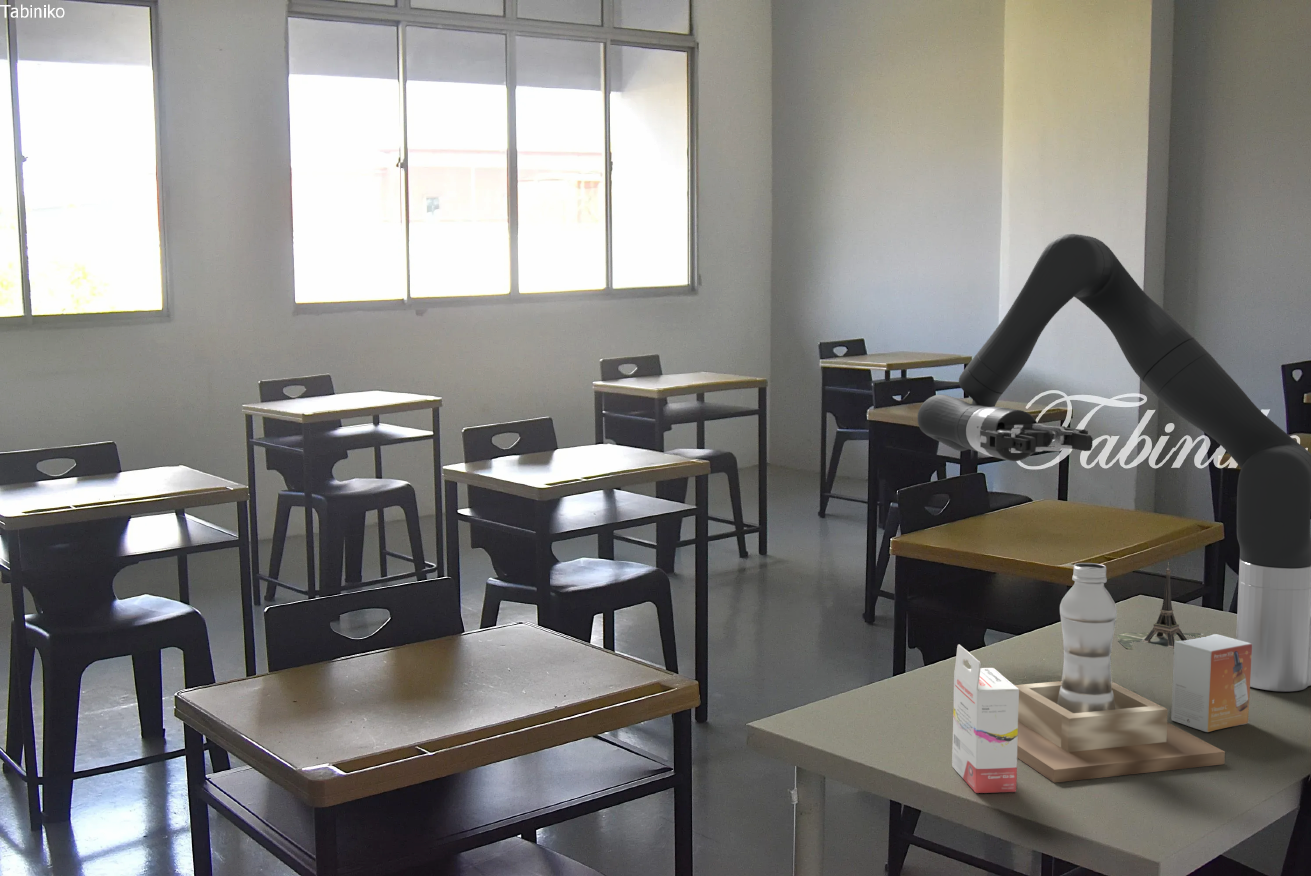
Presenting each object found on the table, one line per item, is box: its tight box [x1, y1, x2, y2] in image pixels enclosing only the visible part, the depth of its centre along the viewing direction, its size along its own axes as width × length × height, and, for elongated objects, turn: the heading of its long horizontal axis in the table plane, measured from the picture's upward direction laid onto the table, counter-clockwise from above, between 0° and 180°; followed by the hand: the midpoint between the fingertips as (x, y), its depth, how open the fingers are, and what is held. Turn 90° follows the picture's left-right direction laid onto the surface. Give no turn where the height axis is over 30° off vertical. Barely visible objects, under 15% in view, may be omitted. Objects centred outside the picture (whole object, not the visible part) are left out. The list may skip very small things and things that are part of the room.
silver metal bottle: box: [1057, 562, 1118, 713], centre depth 152 cm, size 6×7×20 cm
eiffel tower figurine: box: [1116, 561, 1205, 650], centre depth 197 cm, size 15×10×13 cm
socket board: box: [1014, 680, 1226, 783], centre depth 153 cm, size 22×22×6 cm
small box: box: [1170, 633, 1252, 733], centre depth 159 cm, size 8×6×10 cm
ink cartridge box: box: [951, 644, 1019, 794], centre depth 141 cm, size 9×5×15 cm, turn 5°
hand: (1061, 444), depth 171 cm, fingers open, 8 cm apart
